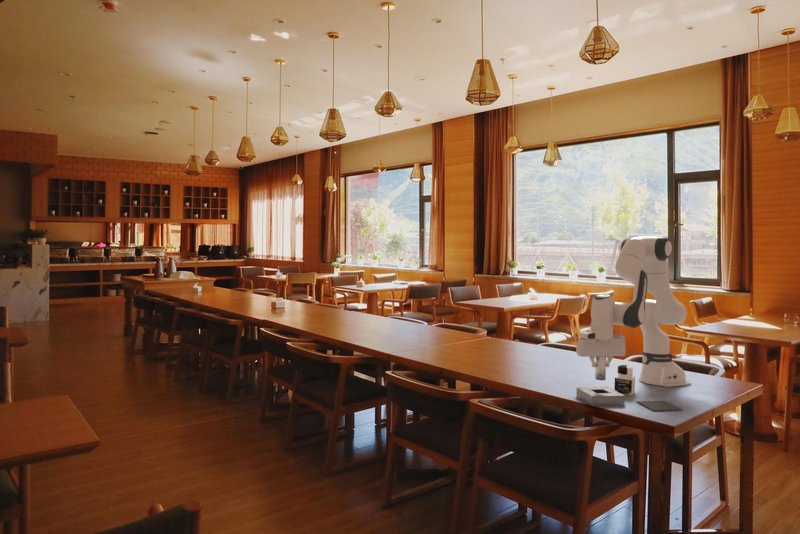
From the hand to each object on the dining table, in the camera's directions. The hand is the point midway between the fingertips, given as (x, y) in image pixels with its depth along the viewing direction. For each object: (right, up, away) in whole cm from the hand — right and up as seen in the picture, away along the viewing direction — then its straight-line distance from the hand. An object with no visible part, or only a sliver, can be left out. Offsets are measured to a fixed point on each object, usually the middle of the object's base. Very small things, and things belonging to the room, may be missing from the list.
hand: (600, 366), depth 230 cm
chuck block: (0, -14, +1) cm, 14 cm away
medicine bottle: (+16, -14, +14) cm, 25 cm away
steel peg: (0, -5, 0) cm, 5 cm away
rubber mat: (+21, -15, -7) cm, 27 cm away
